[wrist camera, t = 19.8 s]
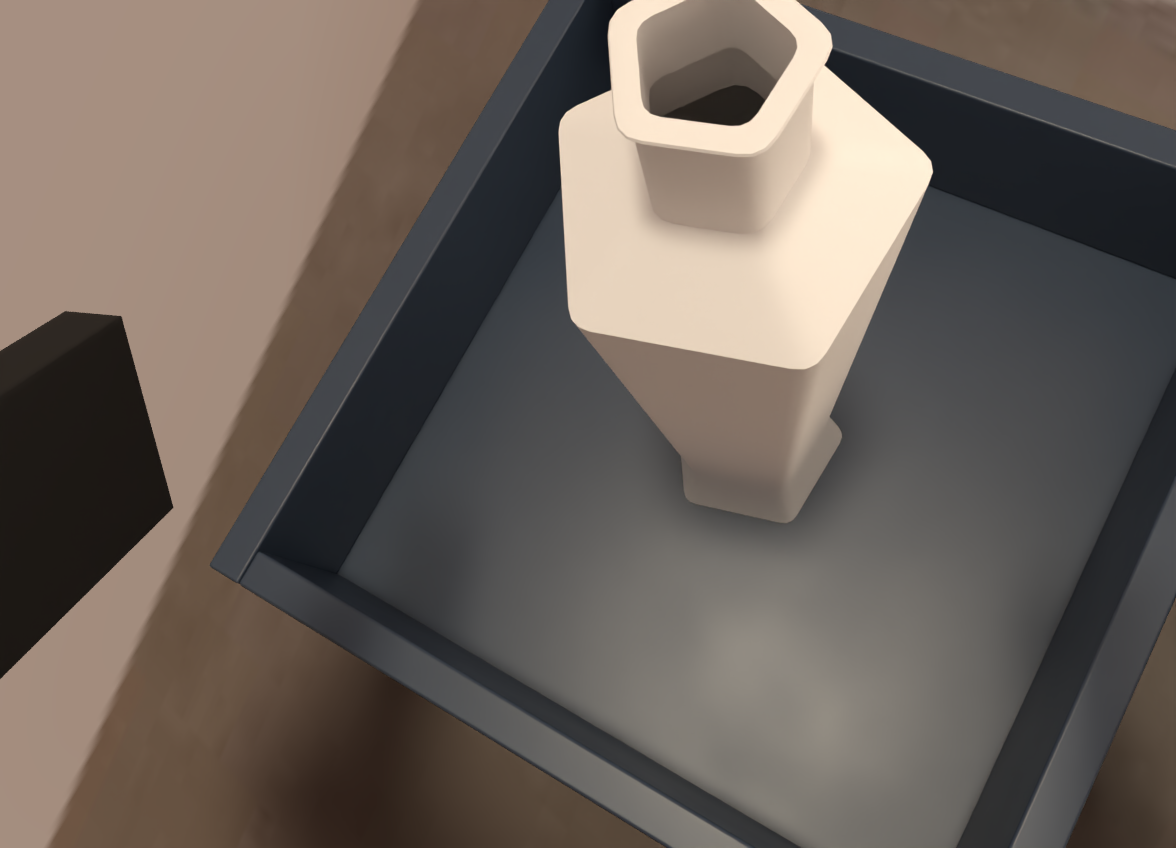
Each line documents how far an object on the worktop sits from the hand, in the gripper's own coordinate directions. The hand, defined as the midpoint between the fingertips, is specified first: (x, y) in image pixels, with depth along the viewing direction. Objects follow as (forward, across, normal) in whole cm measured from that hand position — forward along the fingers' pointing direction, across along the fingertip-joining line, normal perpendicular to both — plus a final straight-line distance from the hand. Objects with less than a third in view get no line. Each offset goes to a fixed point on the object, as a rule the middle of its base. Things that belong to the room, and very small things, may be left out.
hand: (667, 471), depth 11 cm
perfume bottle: (+12, 0, -6) cm, 13 cm away
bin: (+12, 0, -7) cm, 14 cm away
